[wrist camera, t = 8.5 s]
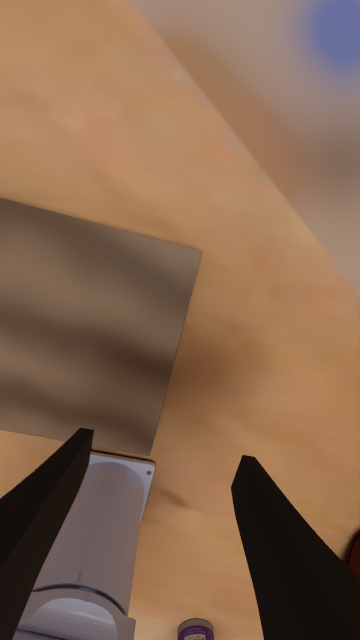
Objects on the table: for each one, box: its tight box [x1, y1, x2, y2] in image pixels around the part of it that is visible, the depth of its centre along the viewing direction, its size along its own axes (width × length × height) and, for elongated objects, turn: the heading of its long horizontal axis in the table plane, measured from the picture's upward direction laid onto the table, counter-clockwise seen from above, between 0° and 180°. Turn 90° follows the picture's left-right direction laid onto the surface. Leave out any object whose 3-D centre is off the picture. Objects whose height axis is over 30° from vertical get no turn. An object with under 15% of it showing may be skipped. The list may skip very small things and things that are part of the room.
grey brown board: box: [0, 198, 202, 456], centre depth 17 cm, size 18×28×2 cm, turn 76°
